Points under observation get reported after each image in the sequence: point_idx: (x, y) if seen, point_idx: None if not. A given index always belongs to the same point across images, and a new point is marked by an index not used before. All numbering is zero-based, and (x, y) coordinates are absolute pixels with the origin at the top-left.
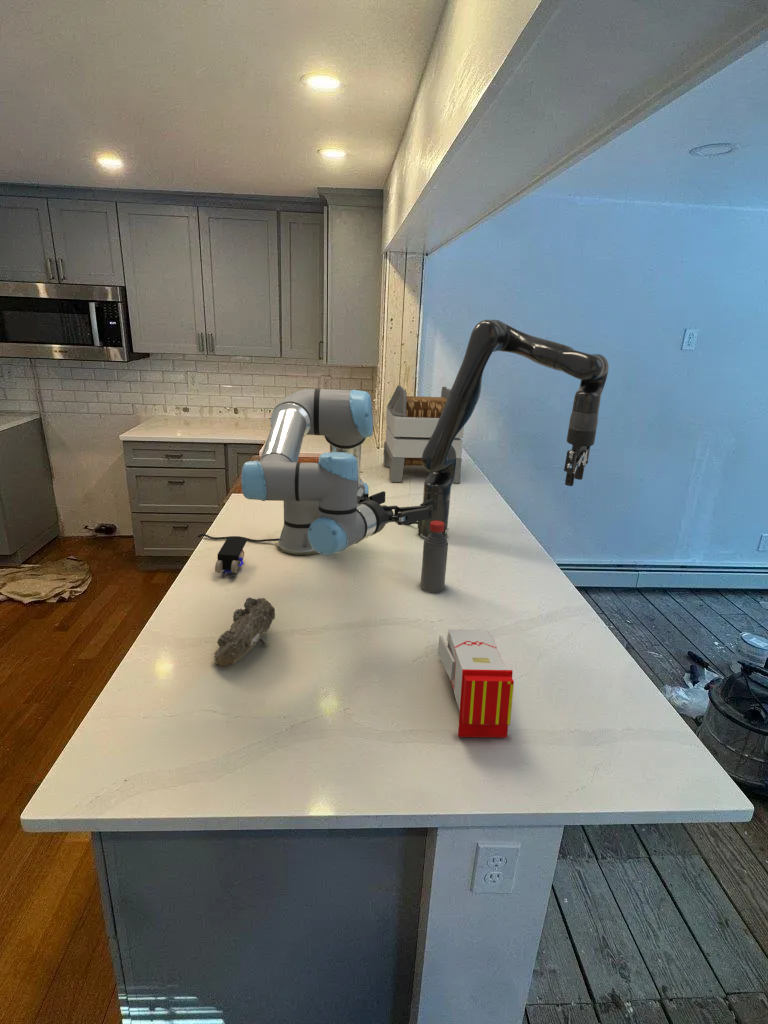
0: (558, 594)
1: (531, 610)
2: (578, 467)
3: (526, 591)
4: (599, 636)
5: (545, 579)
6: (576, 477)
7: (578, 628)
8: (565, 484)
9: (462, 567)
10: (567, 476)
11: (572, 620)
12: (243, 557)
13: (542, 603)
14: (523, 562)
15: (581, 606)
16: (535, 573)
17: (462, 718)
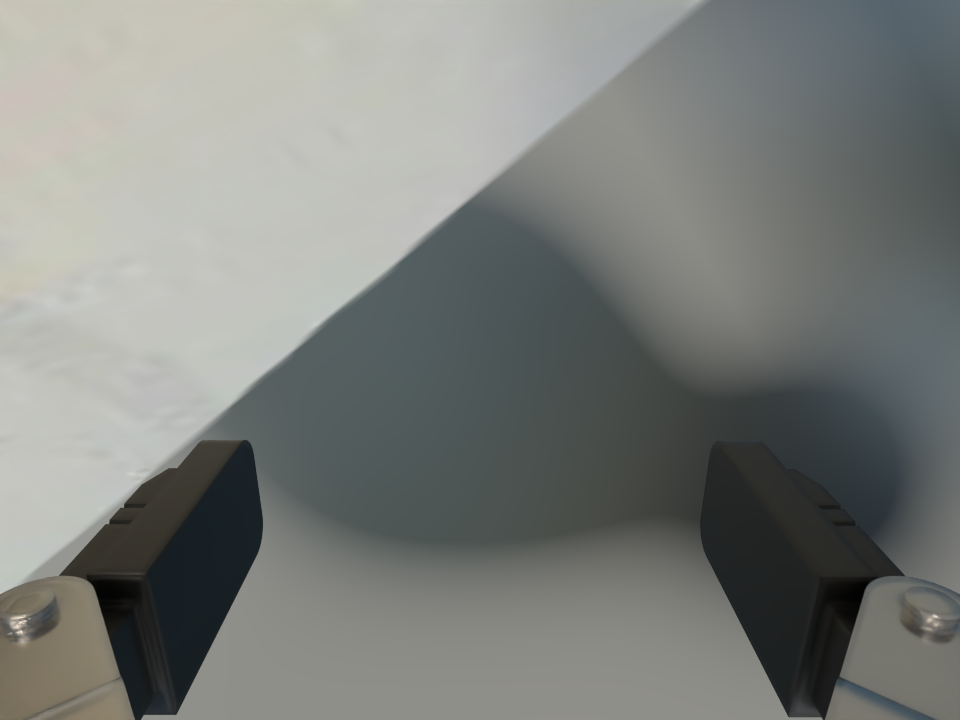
0: (254, 300)
1: (21, 259)
2: (801, 618)
3: (163, 168)
4: (66, 514)
5: (358, 194)
6: (721, 475)
7: (54, 447)
8: (209, 443)
9: None
10: (79, 567)
11: (90, 414)
12: None
13: (118, 273)
14: (482, 3)
15: (226, 407)
16: (389, 124)
17: None
